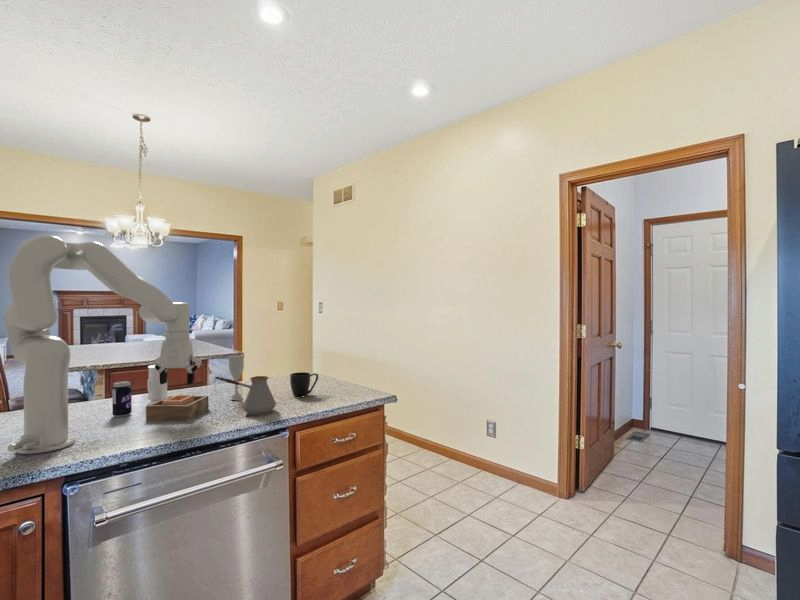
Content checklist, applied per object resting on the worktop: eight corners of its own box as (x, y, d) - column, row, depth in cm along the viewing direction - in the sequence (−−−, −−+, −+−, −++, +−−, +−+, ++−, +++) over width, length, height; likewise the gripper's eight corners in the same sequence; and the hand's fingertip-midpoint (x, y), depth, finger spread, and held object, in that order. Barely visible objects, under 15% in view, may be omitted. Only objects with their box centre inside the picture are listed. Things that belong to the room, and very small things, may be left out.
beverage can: (121, 418, 143) (121, 384, 143) (108, 417, 145) (108, 383, 145) (135, 413, 149) (135, 381, 149) (122, 413, 150) (122, 380, 150)
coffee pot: (269, 406, 157) (269, 368, 157) (280, 413, 148) (280, 372, 148) (210, 416, 145) (209, 374, 145) (217, 424, 135) (217, 379, 135)
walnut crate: (188, 420, 140) (188, 405, 140) (146, 420, 140) (146, 406, 140) (208, 408, 155) (208, 395, 155) (170, 409, 155) (170, 396, 155)
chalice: (245, 400, 167) (245, 356, 167) (227, 402, 165) (227, 357, 165) (245, 396, 174) (244, 354, 174) (227, 398, 172) (227, 355, 172)
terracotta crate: (180, 415, 143) (180, 401, 143) (162, 415, 143) (162, 401, 143) (194, 408, 152) (193, 394, 152) (176, 408, 152) (176, 395, 152)
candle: (145, 403, 164) (145, 366, 164) (164, 399, 170) (163, 364, 170) (150, 406, 160) (150, 367, 160) (170, 402, 165) (169, 365, 165)
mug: (321, 395, 175) (321, 373, 175) (293, 399, 169) (293, 376, 169) (315, 392, 182) (315, 370, 182) (288, 395, 176) (288, 373, 176)
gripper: (147, 336, 144) (146, 385, 143) (196, 337, 144) (195, 385, 143) (160, 335, 151) (159, 381, 151) (206, 335, 151) (205, 382, 151)
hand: (176, 383), depth 147 cm, fingers open, 9 cm apart
